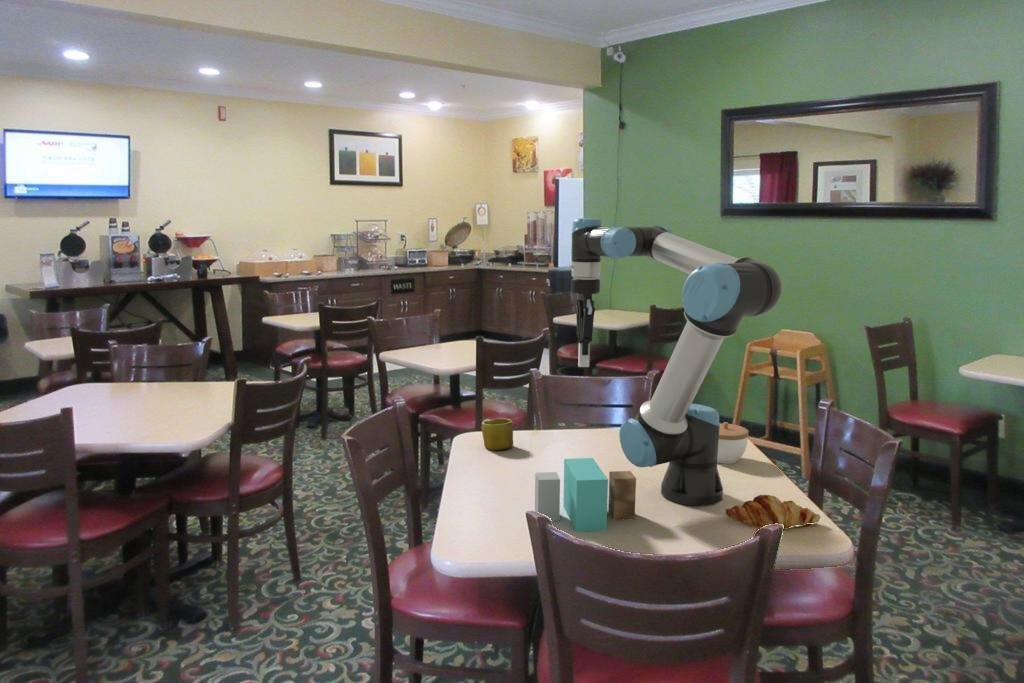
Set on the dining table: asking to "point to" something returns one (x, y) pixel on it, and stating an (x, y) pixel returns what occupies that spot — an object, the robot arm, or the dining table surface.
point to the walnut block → (622, 495)
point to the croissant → (771, 512)
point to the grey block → (547, 494)
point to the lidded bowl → (731, 443)
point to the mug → (497, 433)
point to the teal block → (585, 494)
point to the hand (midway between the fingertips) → (583, 366)
